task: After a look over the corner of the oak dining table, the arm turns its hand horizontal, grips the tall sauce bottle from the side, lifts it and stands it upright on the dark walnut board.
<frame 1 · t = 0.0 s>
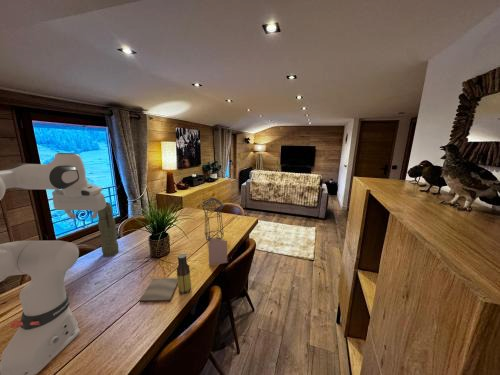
hand: (83, 218, 89), 39 cm above the table, tool pointing down, fingers open, 8 cm apart
geometric lantern: (213, 240, 152), on the table
sauce bottle: (184, 291, 99), on the table
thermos: (111, 253, 131), on the table
greeting card: (217, 263, 123), on the table
walnut board: (161, 290, 99), on the table
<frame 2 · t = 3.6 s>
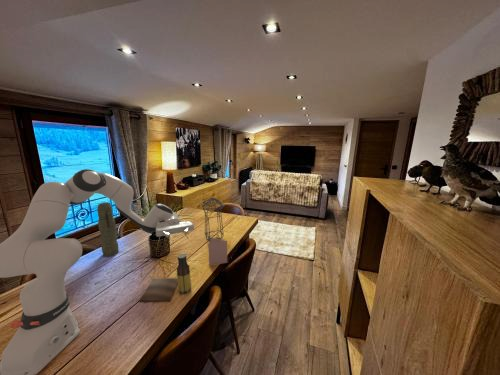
hand: (177, 234, 104), 26 cm above the table, tool horizontal, fingers open, 8 cm apart
nothing on the table moved.
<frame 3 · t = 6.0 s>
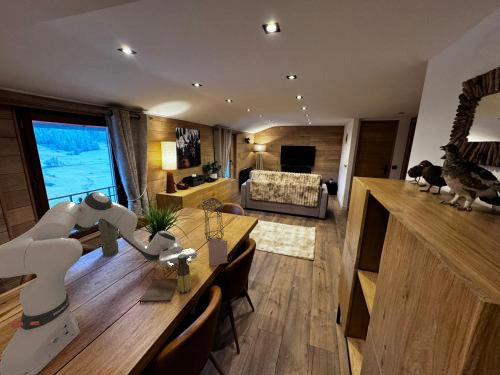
hand: (180, 264, 105), 10 cm above the table, tool horizontal, fingers open, 8 cm apart
nothing on the table moved.
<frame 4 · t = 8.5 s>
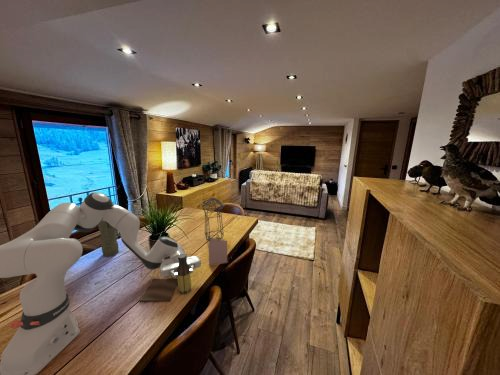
hand: (184, 274, 96), 10 cm above the table, tool horizontal, fingers closed on sauce bottle, 6 cm apart
sauce bottle: (184, 290, 99), on the table, touching gripper
everything else where it was.
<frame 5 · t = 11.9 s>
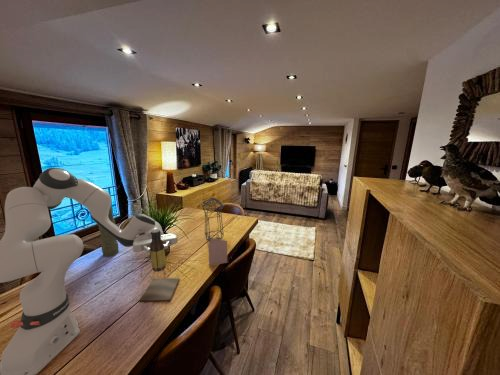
hand: (157, 249, 93), 24 cm above the table, tool horizontal, fingers closed on sauce bottle, 6 cm apart
sauce bottle: (158, 268, 96), point 13 cm above the table, touching gripper
everything else where it was.
when the fingers open (12 cm above the table, at t = 15.1 s): sauce bottle stays where it is, resting on walnut board.
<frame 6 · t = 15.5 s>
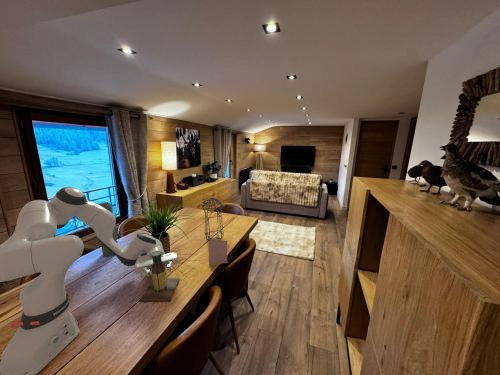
hand: (159, 270, 95), 12 cm above the table, tool horizontal, fingers open, 8 cm apart
sauce bottle: (160, 289, 99), point 1 cm above the table, touching walnut board
everything else where it was.
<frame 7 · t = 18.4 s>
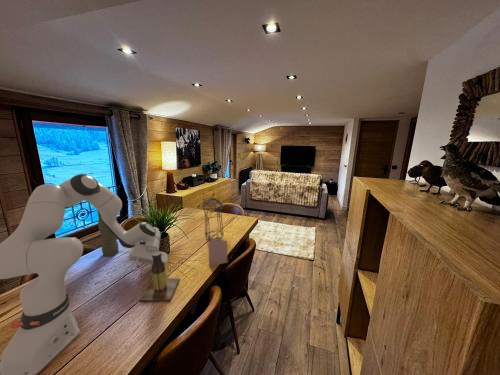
hand: (147, 268, 103), 8 cm above the table, tool tilted 75°, fingers open, 8 cm apart
nothing on the table moved.
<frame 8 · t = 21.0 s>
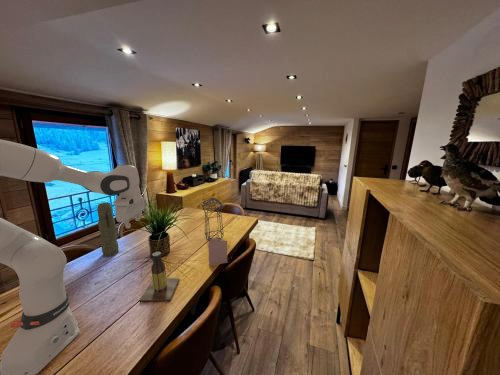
hand: (133, 223, 98), 33 cm above the table, tool pointing down, fingers open, 8 cm apart
nothing on the table moved.
at the end: sauce bottle inside the target area on the walnut board (0.4 cm from its centre), point 1.0 cm above the walnut board's base; sauce bottle tilted 0°; the gripper is holding nothing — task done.
